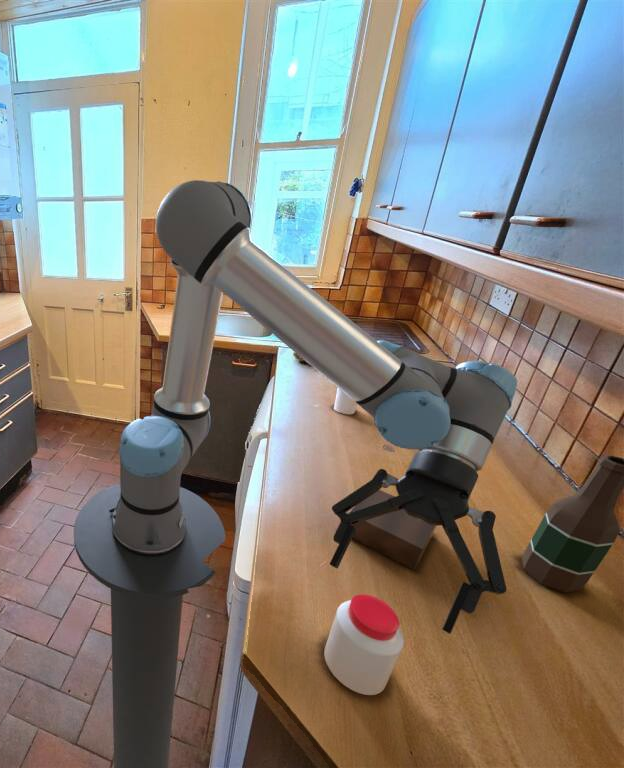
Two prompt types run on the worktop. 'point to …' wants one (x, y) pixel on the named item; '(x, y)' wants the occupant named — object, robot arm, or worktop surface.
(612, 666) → the worktop surface
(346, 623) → the pill bottle
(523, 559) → the beer bottle
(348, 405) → the white cup
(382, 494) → the walnut block
